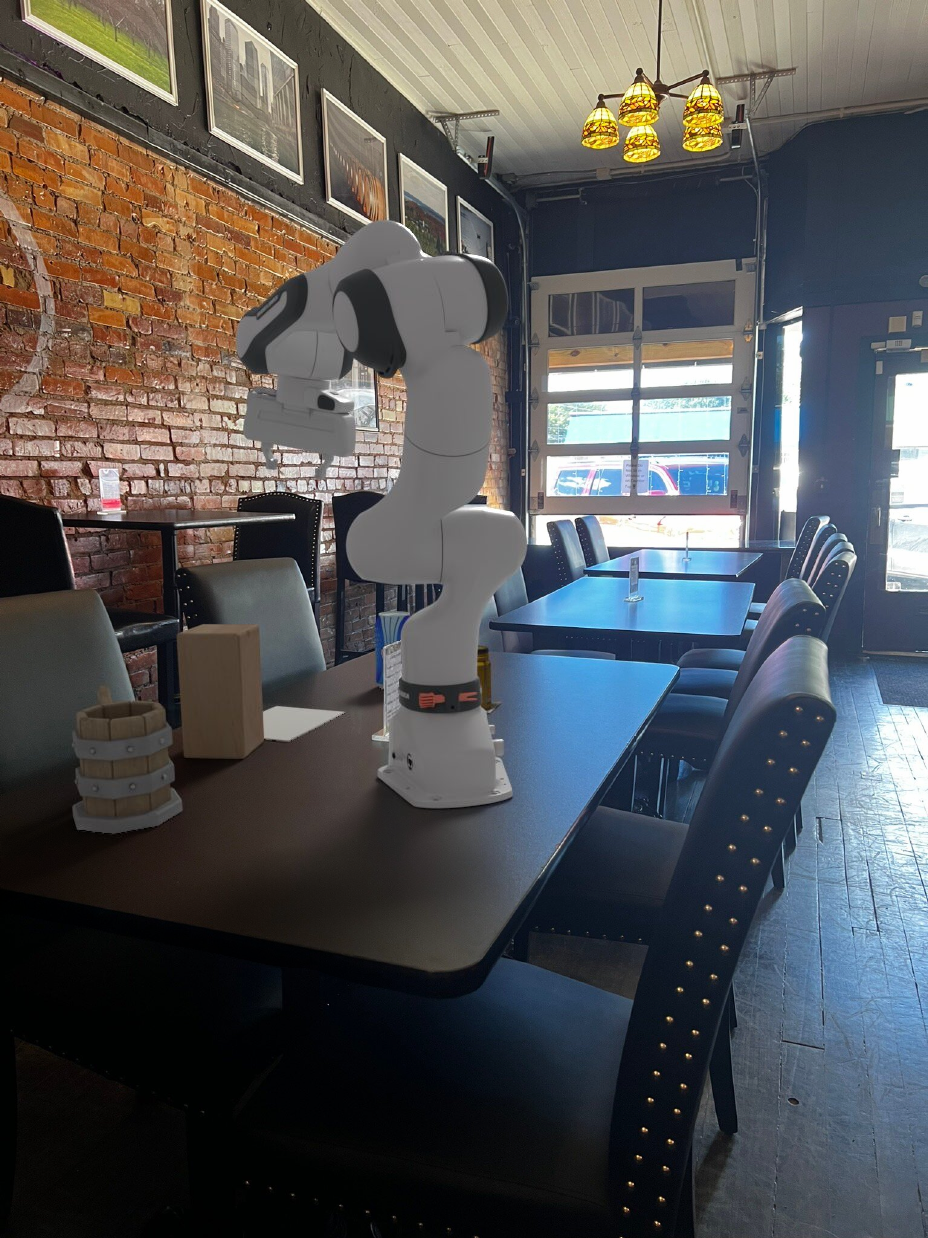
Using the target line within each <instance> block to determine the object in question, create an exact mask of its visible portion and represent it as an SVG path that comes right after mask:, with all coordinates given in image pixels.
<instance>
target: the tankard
mask: <svg viewBox="0 0 928 1238" xmlns="http://www.w3.org/2000/svg"><path fill="white" fill-rule="evenodd" d="M96 695H97V702H98V703H99V704H97V705H94V706H90V707H87V708H85V709H83V710H80V711H77V713H76V717H75V719H76V729H74V730H73V731H72V743H71V747H72V748H73V750H74V753H75V755H76V757H77V758H78V759H79V765H80V766H78V767H76V768H75V779H74V783H75V784H76V787H77V790H78V792H79V796H80V797H82V800H81V801H79V802H76V803H75V804H73V805H72V817H73V820H74V823H75V827H76V830H78V831H79V830H86V831H92V832H91V833H95V832H102V833H101V834H104V833H112V834H111V835H113V834H115V833H120V834H122V833H121V832H125V833H128V832H127V831H131V830H136V831H139V830H138V829H141V830H145V829H144V828H147V829H149V828H148V827H152V828H156V827H155V826H157V827H159V826H161V825H162V824H163V822H164V823H165V822H166V821H169V820H170V819H172V818H173V816H174V817H176V815H179V814H180V813H181V812H183V811H184V809H183V801H182V798H181V797H180V795H179V794H178V793H177V791H176V790H175V788H174V787H171V784H172V783H173V782H175V780H176V776H175V773H176V772H175V764H174V762H173V761H172V760H171V758H170V757H169V748H168V747H170V746H172V745H173V744H174V743H173V728H172V727H171V726H170V725H169V723H168V722H167V716H166V715H167V713H166V709H165V707H164V706H163V705H162V704H161V703H160V702H157V701H146V700H132V701H131V700H126V701H117V702H115V701H114V702H113V699H112V696H111V692H110V687H109V686H108V685H102V686H101V685H100V686H98V688H97V693H96ZM168 819H169V820H168ZM86 831H85V832H86ZM131 832H132V831H131ZM115 835H116V834H115Z"/></svg>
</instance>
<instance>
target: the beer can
mask: <svg viewBox="0 0 928 1238" xmlns="http://www.w3.org/2000/svg"><path fill="white" fill-rule="evenodd" d="M410 614H411V613H410V612H407V611H396V610H395V611H383V612H379V613H378V617H377V619H376V621H375V623H374V650H375V651H374V652H375V653H374V655H375V659H374V660H375V661H374V662H375V682H376V684H377V685H378V687H379V689H380V688H381V690H383V658H382V655H381V650H382V649H383V647H384V646H385V645H387V644H391V643H393V642H396V641H400V640H401V631H402V628H403V625H404V624H405V622H406V621H407V620H408V619H409V618H410V617H411V616H410ZM383 691H384V690H383Z"/></svg>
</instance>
